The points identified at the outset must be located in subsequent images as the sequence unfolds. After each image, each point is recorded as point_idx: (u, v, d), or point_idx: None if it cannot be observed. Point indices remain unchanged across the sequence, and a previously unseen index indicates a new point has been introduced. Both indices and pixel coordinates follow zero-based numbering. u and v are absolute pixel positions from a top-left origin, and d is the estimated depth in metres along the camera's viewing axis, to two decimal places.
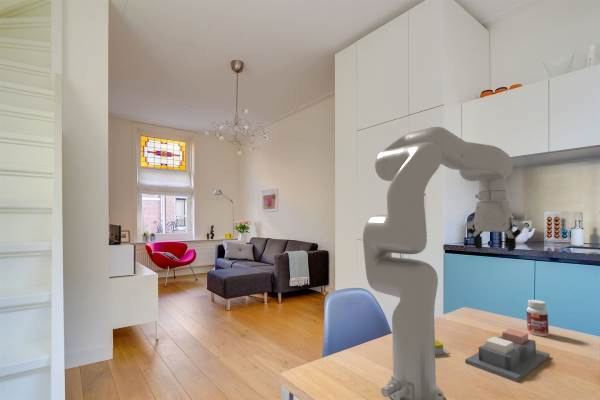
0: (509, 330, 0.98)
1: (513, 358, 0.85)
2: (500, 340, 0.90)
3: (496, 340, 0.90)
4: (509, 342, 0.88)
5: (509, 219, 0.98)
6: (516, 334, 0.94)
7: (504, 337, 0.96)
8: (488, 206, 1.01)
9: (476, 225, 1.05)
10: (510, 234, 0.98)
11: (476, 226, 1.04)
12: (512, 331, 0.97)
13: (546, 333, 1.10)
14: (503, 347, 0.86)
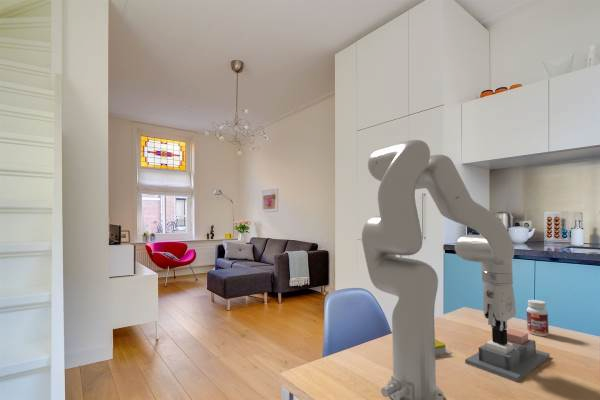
0: (509, 330, 0.98)
1: (513, 358, 0.85)
2: None
3: None
4: (509, 344, 0.88)
5: None
6: (516, 334, 0.94)
7: None
8: (508, 290, 0.88)
9: (502, 315, 0.85)
10: (506, 324, 0.89)
11: (502, 317, 0.85)
12: (512, 331, 0.97)
13: (546, 333, 1.10)
14: (503, 349, 0.86)
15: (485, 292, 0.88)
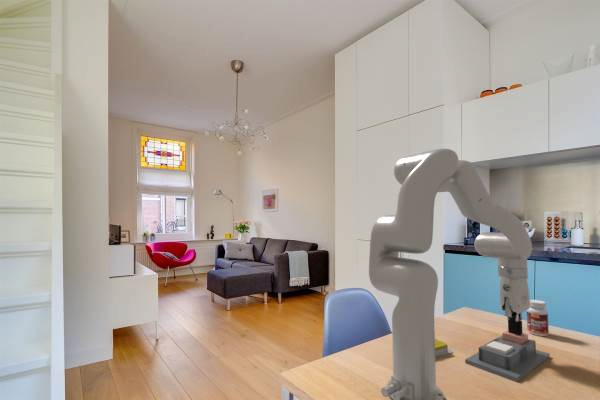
0: None
1: (513, 358, 0.85)
2: (500, 345, 0.90)
3: (496, 345, 0.89)
4: (509, 347, 0.88)
5: None
6: (516, 335, 0.94)
7: (504, 338, 0.96)
8: (523, 284, 0.94)
9: (518, 307, 0.92)
10: (521, 316, 0.96)
11: (518, 308, 0.92)
12: None
13: (546, 333, 1.10)
14: (504, 352, 0.86)
15: (502, 286, 0.95)
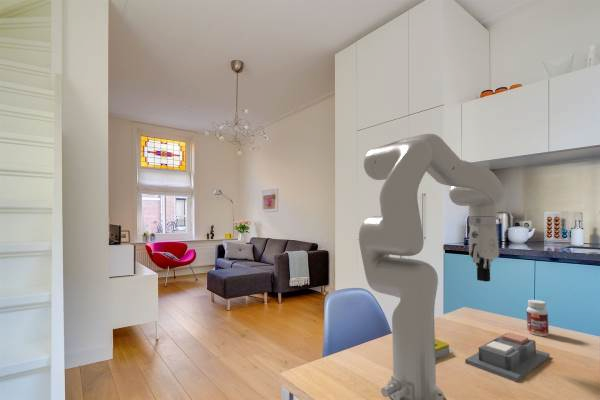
0: (509, 334, 0.98)
1: (513, 358, 0.85)
2: (500, 345, 0.90)
3: (496, 345, 0.89)
4: (509, 347, 0.88)
5: None
6: (516, 338, 0.94)
7: None
8: (491, 232, 0.98)
9: (485, 253, 0.95)
10: (489, 264, 0.99)
11: (485, 254, 0.95)
12: (512, 335, 0.97)
13: (546, 333, 1.10)
14: (504, 352, 0.86)
15: (471, 233, 0.99)
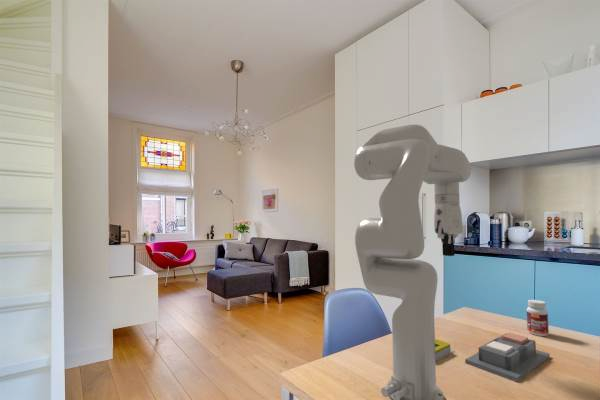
0: (509, 334, 0.98)
1: (513, 358, 0.85)
2: (500, 345, 0.90)
3: (496, 345, 0.89)
4: (509, 347, 0.88)
5: None
6: (516, 338, 0.94)
7: None
8: (455, 209, 1.03)
9: (448, 228, 1.00)
10: (454, 239, 1.05)
11: (449, 229, 1.00)
12: (512, 335, 0.97)
13: (546, 333, 1.10)
14: (504, 352, 0.86)
15: (436, 211, 1.04)
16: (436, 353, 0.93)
